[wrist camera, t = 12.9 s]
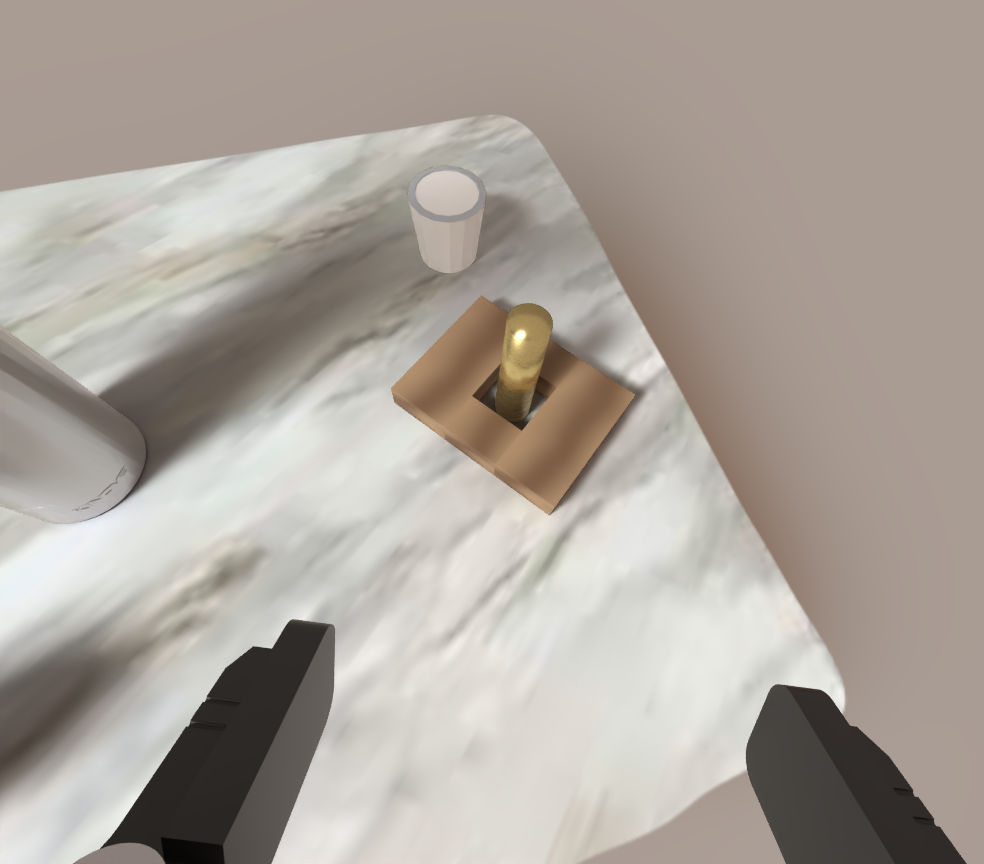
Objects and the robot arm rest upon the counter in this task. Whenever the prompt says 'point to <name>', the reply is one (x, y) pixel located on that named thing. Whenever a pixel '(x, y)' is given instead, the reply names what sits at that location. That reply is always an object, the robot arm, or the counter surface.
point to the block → (492, 439)
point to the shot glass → (447, 216)
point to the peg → (522, 359)
